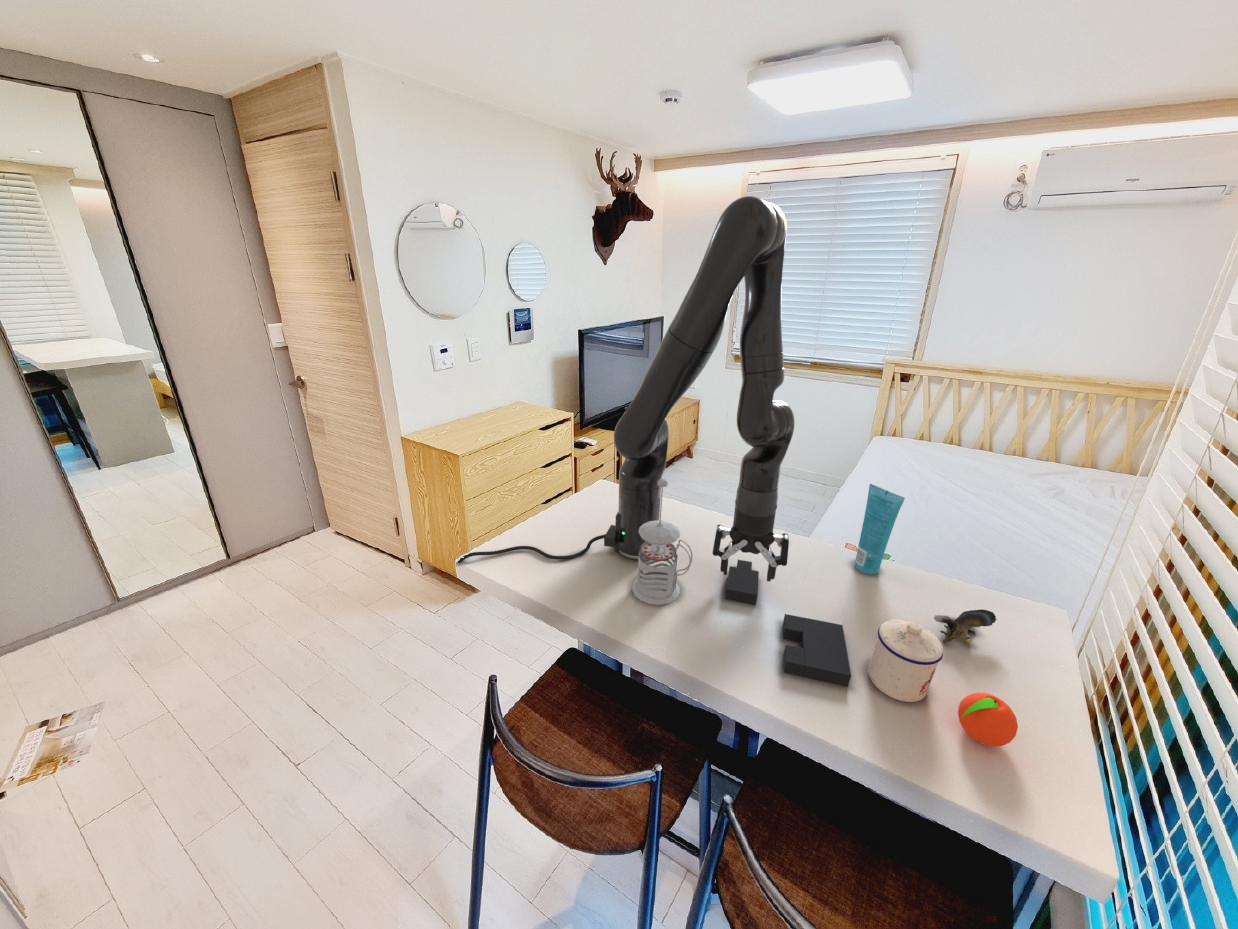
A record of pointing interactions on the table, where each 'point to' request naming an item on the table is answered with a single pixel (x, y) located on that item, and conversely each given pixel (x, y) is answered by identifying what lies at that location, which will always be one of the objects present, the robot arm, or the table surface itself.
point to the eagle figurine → (965, 623)
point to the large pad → (816, 650)
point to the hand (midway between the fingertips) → (746, 575)
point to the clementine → (987, 719)
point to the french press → (658, 580)
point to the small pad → (742, 583)
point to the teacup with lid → (904, 660)
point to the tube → (876, 528)
